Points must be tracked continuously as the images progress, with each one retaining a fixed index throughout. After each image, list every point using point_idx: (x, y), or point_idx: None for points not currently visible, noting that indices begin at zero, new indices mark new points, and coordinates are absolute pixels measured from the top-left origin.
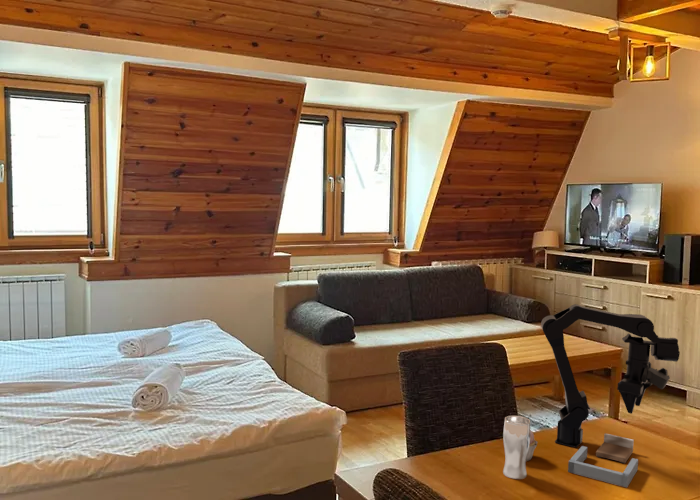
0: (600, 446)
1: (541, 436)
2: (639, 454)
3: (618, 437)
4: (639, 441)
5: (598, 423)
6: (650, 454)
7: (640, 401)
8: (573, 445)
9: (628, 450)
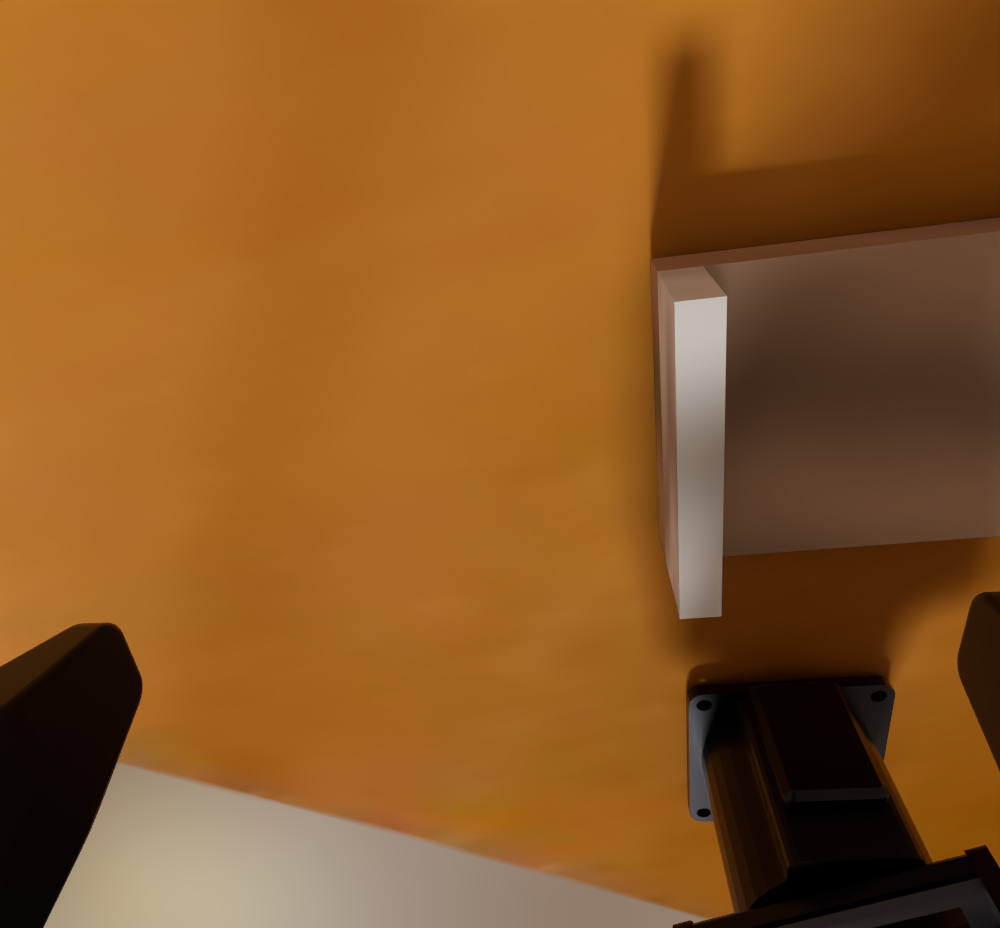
0: (867, 544)
1: None
2: (641, 177)
3: (722, 475)
4: (220, 314)
5: None
6: (540, 63)
7: (12, 708)
8: (887, 705)
9: (807, 283)
